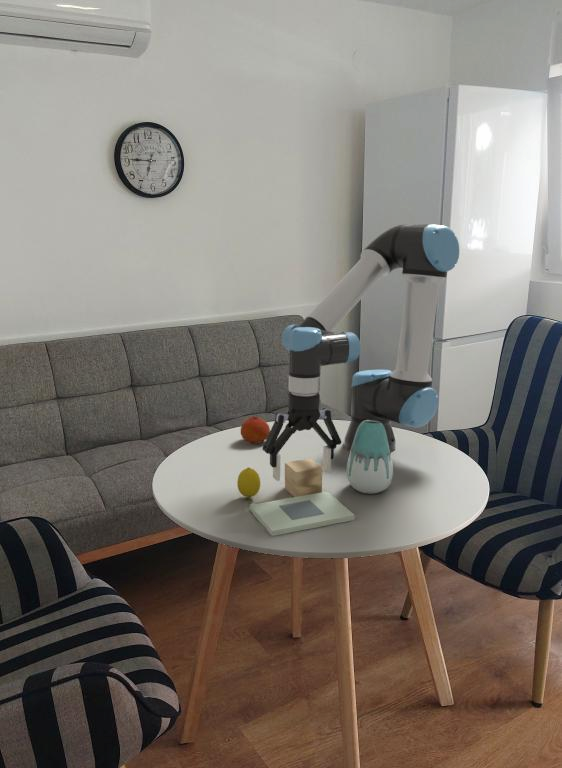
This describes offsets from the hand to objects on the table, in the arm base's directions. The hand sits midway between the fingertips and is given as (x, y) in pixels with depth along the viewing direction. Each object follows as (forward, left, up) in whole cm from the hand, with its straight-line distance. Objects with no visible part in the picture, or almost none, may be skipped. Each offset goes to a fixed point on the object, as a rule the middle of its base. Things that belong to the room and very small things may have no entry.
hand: (301, 475), depth 160 cm
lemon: (+14, -1, -5) cm, 14 cm away
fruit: (-2, -39, -5) cm, 39 cm away
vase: (-16, +5, -5) cm, 18 cm away
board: (+6, +12, -4) cm, 14 cm away
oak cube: (0, 0, -4) cm, 4 cm away
